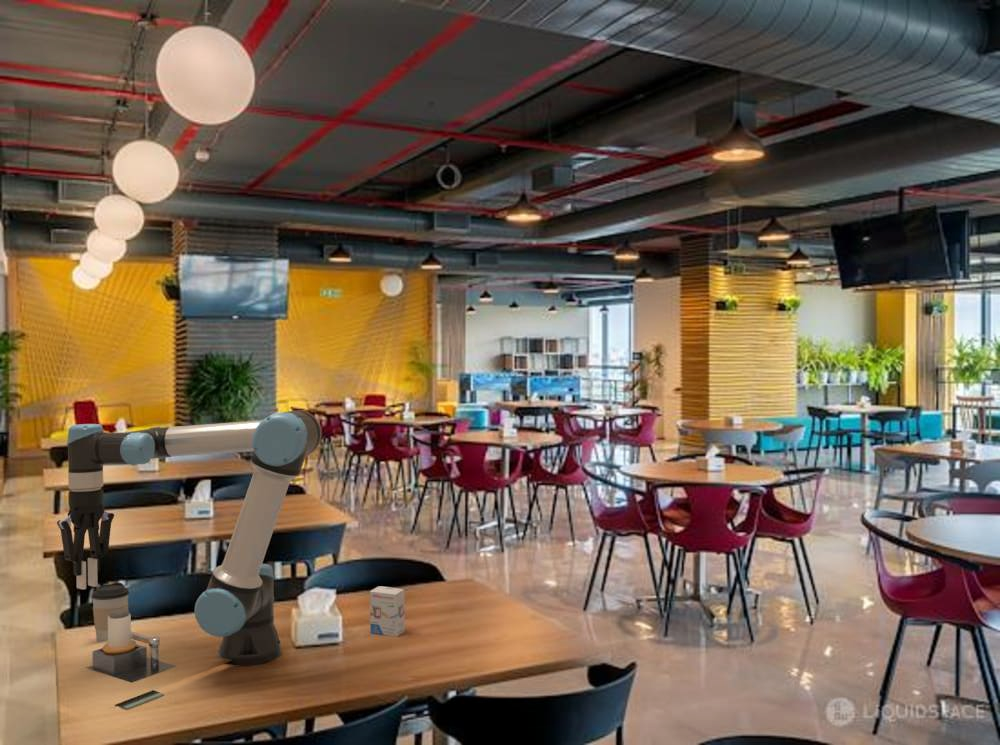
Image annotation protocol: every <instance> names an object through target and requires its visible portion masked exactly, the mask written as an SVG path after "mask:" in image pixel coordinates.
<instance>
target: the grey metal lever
mask: <svg viewBox="0 0 1000 745" xmlns="http://www.w3.org/2000/svg"><path fill="white" fill-rule="evenodd" d="M131 640H132V641H137V642H142V643H144V644H147V645H148V646H149V647H155V646H160V644H161V637H160V636H149V635H145V634H142V633H138V632H134V631H131Z"/></svg>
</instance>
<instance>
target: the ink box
mask: <svg viewBox="0 0 1000 745" xmlns="http://www.w3.org/2000/svg"><path fill="white" fill-rule="evenodd" d="M369 612H370V613H369V614H370V615H369V616H370V617H369V620H370V622H369V624H370V627H369V628H370V634H376V635H384V636H390V637H398V636H400V635H401V634H403V633H404V632H405V630H406V629H405V628H406V626H405V625H406V624H405V619H406V618H405V613H406V612H405V590H404V588H398V587H397V588H395V587H390V586H382V585H381V586H379V585H378V586H376V587H374V588H373V589H371V590H370V591H369Z"/></svg>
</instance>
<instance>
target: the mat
mask: <svg viewBox="0 0 1000 745" xmlns="http://www.w3.org/2000/svg"><path fill="white" fill-rule="evenodd" d="M164 696H165V693H163V692H160V691H157V690H154V689H152V690H150V691H147V692H145V693H142V694H139V695H137V696H135V697H131V698H129V699H126V700H124V701H123V700H122V701H121V702H118V703H115V704H114V706H115V707H118V708H121V709H124V710H131V709H133V708H135V707H139V706H141V705H143V704H146V703H149V702H151V701H154V700H157V699H158V698H162V697H164Z"/></svg>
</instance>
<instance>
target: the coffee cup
mask: <svg viewBox="0 0 1000 745" xmlns="http://www.w3.org/2000/svg"><path fill="white" fill-rule="evenodd" d="M129 590H130V589H129V588H128V587H126V586H125V585H124V584H123V583H122V582H118V581H117V582H116V581H115V582H113V583H109V584H103V585H99V586H96V589H95V591H93V592H91V594H92V595H91V599H92V602H93V603H92V604H93V606H92V612H93V622H94V629H95V636H96V644H101V643H103V642H108V616H110V612H111V611H114V610H118V609H127V610H129V595H130V592H129Z"/></svg>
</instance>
